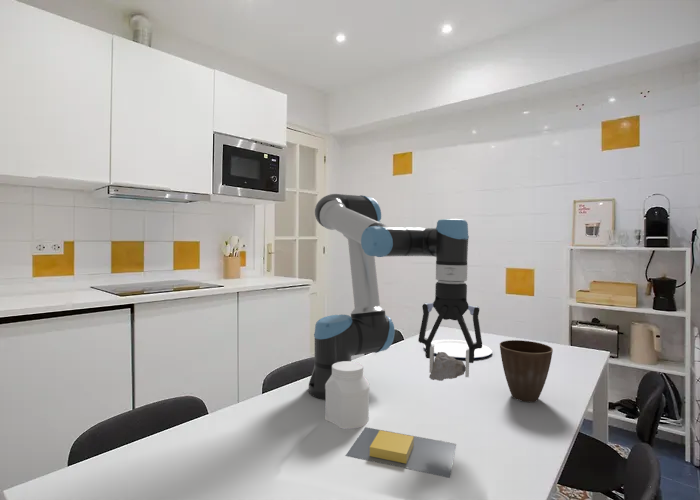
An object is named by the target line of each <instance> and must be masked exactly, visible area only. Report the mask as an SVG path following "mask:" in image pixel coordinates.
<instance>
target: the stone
mask: <svg viewBox="0 0 700 500" xmlns="http://www.w3.org/2000/svg"><path fill="white" fill-rule="evenodd" d="M435 355H436V356H435V357H434V365H433V369H432V372H431V373H429V376H428V378H429V379H430V380H432V381H435V380H436V381H439V382H440V381H441V382H442V381H444V380H447V379H450V380H452V379H457V378H458V377H460V376H463V375H464V374H465V370H466V364H465V363H464V361H462V360H459V359H457V358H453V357H451V356H448V355H447V354H446V353H445V352H438V354H435Z"/></svg>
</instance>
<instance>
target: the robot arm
mask: <svg viewBox="0 0 700 500" xmlns="http://www.w3.org/2000/svg"><path fill="white" fill-rule="evenodd" d="M314 216H315V219H316V221H317V222H318V224H320V226H322V227H324V228H325V229H327V230H331V231H337V232H339V233H340V234H342V235H343V237H344V238H346V239H347V241H348V253H349V263H350V272H351V273H350V274H351V284H352V293H353V295H352V296H353V304H354V308H353V310H352V311H351V313H350V315H348V314H332V315H327V316H324V317H322V318H319V319H318V320H317V321H316V323H315V324H314V325H315V327H314V334H313V337H314V364H313V365H314V366H313V370H312V373H311V376H310V379H309V382H308V394H310V395H311V396H312V397H315V398H316V399H317V398H318V399H322V400H326V389H325V384H326V382H327V381H328V379H329V378H330V376H331V375H332V365H333V364H334V363H337V362H342V361H352V356H353V357H354V356H359V355H366V354H367V355H368V354H373V353H374V354H377V353H380V352H384V351H387V350H388V349H390V347H391V346H392V344H393V343H394V339H395V325H394V324H395V323H394V322H393V321H392V319H391V317H390V316H388V315H387V314H386V310H385V309H384V308H383V307H382V306H381V305H380V304H381V303H380V295H379V285H378V277H377V268H376V266H377V265H376V257H377V258H384V257H435V258H436V260H435V280H437V282H436V283H435V289H434V290H435V292H434V293H435V294H434V295H435V296H434V297H435V298H434V300H433V302H429V303H428V302H423V304H422V312H423V313H422V320H421V324H420V329H419V335H418V341H417V342H418V343H420V344H423V345H425V346H426V349H425V352H424V353H425V359H429V372H428V373H429V374H431V372H432V369H433V365H434V360H435V354H434V344H431V342H432V341H434V337H435V336H436V334H437V331H438V329H439V327H440V325H441V323H442V321H443V320H445V321H447V320H452V321H457V324H458V325H459V327H460V330H461V332H462V334H463V337H464V341H466V342H467V344H468V347H469V348H466V358H465V367H466V370H465V372H464V374H465V375H464V377H465V378H470V364H474V362H475V358H474V351H475V349H478V348H482V345H483V341H482V333H481V327H480V321H479V314H480V307H479V306H478V305H475V306H474V305H470V304H469V303H468V299H467V296H468V293H467V292H468V291H467V290H468V285H467V283H466V282H467V281H468V250H469V248H468V247H469V239H470V238H469V237H470V236H469V225H468V222H467V220H465V219H460V218H443V219H442V218H441V219H438V220H437V221H436V227H406V226H405V227H404V226H402V227H401V226H398V227H397V226H389V225H386V224H384V223H382V222H381V219H382V211H381V206H380V204H379V203H378V201H377V200H376V199H374V197H371V196H366V195H363V194H362V195H355V194H354V195H353V194H343V193H342V194H340V193H330V194H327V195H325V196H323V197H321V198H320V200H318V202H317V203H316V204H315V207H314ZM433 308H434V310H435V311H436V312H437V314H438V316H437V318H436V320H435V322H434V324H433V326H432V328H431V331H430V332H429V335H428V337H426V333H427V327H428V323H429V322H428V321H429V317H430V312H432V311H433V310H432V309H433ZM467 311H469V314H470V315H471V316H472V321H473V329H474V334H475V335H474V336H475V342H474V341H473V338H472V335H471V334H470V331H469V328H468V327H467V324H466V321H465V318H464V316H463V315H465V313H467ZM473 342H474V343H473Z"/></svg>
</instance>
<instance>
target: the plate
mask: <svg viewBox="0 0 700 500" xmlns="http://www.w3.org/2000/svg"><path fill="white" fill-rule="evenodd" d="M473 343H475V342H474V341H473ZM431 344H434V355H437V354H438V352H445V353H446V354H447V355H448V356H451V357H453V358H455V359H466V348H469V347H468V344H467V342H466V340H460V339H436V340H432V342H431ZM423 348H424V349H425V350H426V346H425V344H423ZM492 354H493V350H492V349H491V348H490V347H489V346H487V345H484V344H482V348H478V349H475V351H474V359H481V358H485V357H486V358H487V357H489V356H491V355H492Z"/></svg>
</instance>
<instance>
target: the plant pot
mask: <svg viewBox="0 0 700 500" xmlns="http://www.w3.org/2000/svg"><path fill="white" fill-rule="evenodd" d="M499 350H500V357H501V363H502V368H503V372H504V377H505V380H506V383H507V386H508V388H509V392H510V394H511V397H512V398H513V399H515V400H517V401H520V402H524V403H534V402H537V401H538V400H539V398H540V395H541V394H542V392H543V390H544V386H545V384H546V380H547V377H548V375H549V371H550V367H551V362H552V356H553V352H554V351H553V347H552V346H550V345H548V344H543V343H541V342H536V341H530V340H520V339H519V340H518V339H517V340H516V339H515V340H514V339H512V340H504V341H501V342H500V343H499Z"/></svg>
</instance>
